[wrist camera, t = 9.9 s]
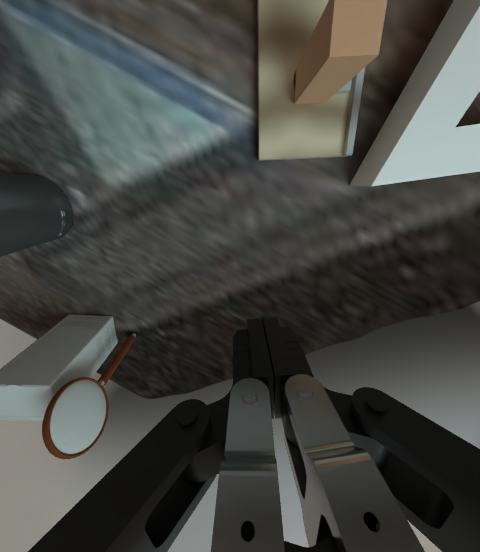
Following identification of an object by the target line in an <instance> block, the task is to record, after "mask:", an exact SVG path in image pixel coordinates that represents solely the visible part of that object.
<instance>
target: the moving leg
mask: <svg viewBox="0 0 480 552" xmlns="http://www.w3.org/2000/svg"><path fill="white" fill-rule="evenodd" d="M386 6H387V0H329V1H328V3H327V5H326V7H325V9H324V11H323V13H322V15H321V17H320V19H319V21H318V23H317V25H316V27H315V29H314V31H313V33H312V35H311V37H310V39H309V41H308V43H307V45H306V47H305V49H304V51H303V53H302V55H301V57H300V59H299V61H298V63H297V66H296V86H295V104H313V103H325V102H327V101H328V100H329V99H330V98H331V97H332V96H333V95H334V94H343V93H348V92H349V91H350V90H351V83H352V78H353V77H354V76H355V75H357V74H358V73H359V72H360V71H361V70H362V69H363V68H364V67H365V66H367V65H368V64H369V63H370V62H371V61H372V60H373V59H374V58H376V57H377V56H378V55H379V49H380V43H381V37H382V31H383V24H384V18H385V12H386Z"/></svg>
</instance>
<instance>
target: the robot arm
mask: <svg viewBox="0 0 480 552" xmlns="http://www.w3.org/2000/svg"><path fill="white" fill-rule="evenodd" d="M72 224H73V211H72V208H71V205H70V202H69V201H68V199H67V197H66V196H65V194H64V193H63V192H62V190H61V189H59V188H58V187H57V186H56V185H55V184H54V183H52V182H51V181H49V180H48V179H45V178H43V177H41V176H37V175H31V174H12V173H2V172H0V257H1V256H5V255H8V254H11V253H14V252H17V251H20V250H23V249H26V248H30V247H33V246H36V245H39V244H42V243H45V242H48V241H51V240H55V239H58V238H60V237H63V236H64V235H66V234H67V233H68V232H69V230H70V229H71V227H72ZM247 327H248V329H246V330H237V332H236V333H235V335H234V337H233V386H232V388H231V390H230V392H229V393H228V394H227V395H226V396H225V397H224V398H222V399H221V400H219V401H216V402H214V403H211V404H210V405H206V404H205V403H204V402H202V401H200V400H196V399H190V400H186V401H183V402H181V403H180V404H178V405H177V406H176V407H174V408H173V409H172V410H171V411H170V413H168V414H167V415H166V417H164V418H163V419H162V420H161V421H160V422H159V423H158V424H157V425H156V426H155V427H154V428H153V429H152V430H151V431H150V432H149V433H148V434H147V435H146V436H145V437H144V438H143V439H142V440H141V441H140V442H139V443H138V444H137V445H136V446H135V447H134V448H133V449H132V450H131V451H130V452H129V453H128V454H127V455H126V456H125V457H124V458H123V459H122V460H121V461H120V462H119V463H118V464H117V465H116V466H115V467H114V468H113V469H112V470H110V471H109V472H108V473H107V474H106V475H105V476H104V477H103V478H102V479H101V481H99V482H98V483H97V484H96V485H95V486H94V487H93V488H92V489H91V490H90V491H89V492H88V493H87V494H86V495H85V496H84V497H83V498H82V499H81V500H80V501H79V502H78V503H77V504H76V505H75V506H74V507H73V508H72V509H71V510H70V511H69V512H68V513H67V514H66V515H65V516H64V517H63V518H62V519H61V520H60V521H59V522H58V523H57V524H56V525H55V526H54V527H53V528H52V529H51V530H50V531H49V532H48V533H46V535H44V536H43V538H41V540H40V541H38V542H37V543H36V544H35V545H34V546H33V547H32V548H31V549H30V550H29V551H28V552H167V551H168V549H169V548H170V546H171V545H172V543H173V542H174V540H175V539H176V537H177V536H178V534H179V533H180V531H181V530H182V528H183V526H184V525H185V523H186V522H187V520H188V519H189V517H190V516H191V514H192V513H193V511H194V510H195V508H196V507H197V505H198V504H199V502H200V500H201V499H202V497H203V496H204V495H205V493H206V491H207V490H208V488H209V487H210V485H211V484H212V482H213V481H214V479H215V477H216V475H217V474H219V480H218V490H217V499H216V508H215V518H214V527H213V536H212V546H211V552H425V551H424V549H423V547H422V546H421V544H420V542H419V540H418V539H417V537H416V535H415V533H414V531H413V530H412V528H411V526H410V524H409V523H408V521H409V522H410V523H411V524H412V525H414V526H415V527H416V528H417V529H418V530H419V531H420V532H421V533H422V534H424V535H425V536H426V537H427V538H428V539H429V540H430V541H431V542H432V543H433V544H435V545H436V546H437V547H438V548H439V549H440V550H441V551H442V552H480V449H479V448H477V447H475V446H473V445H472V444H470V443H468V442H467V441H465V440H463V439H462V438H460V437H458V436H456V435H455V434H453V433H451V432H450V431H448V430H446V429H444V428H443V427H441V426H439V425H438V424H436V423H435V422H433V421H431V420H429V419H428V418H426V417H424V416H423V415H421V414H419V413H418V412H416V411H414V410H412V409H411V408H409V407H407V406H406V405H404V404H402V403H401V402H398V401H397V400H396V399H394V398H392V397H390V396H389V395H387V394H385V393H383V392H382V391H380V390H377V389H374V388H367V387H364V388H360V389H357V390H356V391H355V392H354V393H353V396H351V395H346V394H342V393H337V392H334V391H331V390H328V389H326V388H325V387H323V385H322V384H321V383H320V382H319V381H318V380H317V379H315V378H314V376H313V375H312V372H311V369H310V367H309V364H308V362H307V360H306V357H305V355H304V352H303V350H302V347H301V345H300V342H299V340H298V338H297V335H296V333H295V332H294V331H293V330H292V329H291V328H290V327H289V326H287V327H280V325H279V321H278V318H277V317H269V318H262V319H261V318H256V319H247ZM273 414H275V418H282V422H283V427H284V442H285V445H286V449H287V453H288V457H289V460H290V464H291V468H292V472H293V475H294V479H295V483H296V487H297V490H298V494H299V498H300V502H301V507H302V513H303V521H304V526H305V532H306V536H307V540H308V544H309V547H308V548H306V547H302V546H299V545H295V544H292V543H289V542H286V541H284V537H283V526H282V515H281V505H280V494H279V482H278V472H277V463H276V459H275V451H274V440H273V428H272V419H273V418H274V415H273ZM407 520H408V521H407Z"/></svg>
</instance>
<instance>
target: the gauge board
mask: <svg viewBox="0 0 480 552" xmlns="http://www.w3.org/2000/svg"><path fill="white" fill-rule="evenodd" d="M328 1H329V0H258V160H281V159H304V158H327V157H347V156H351V155H352V154H353V147H354V140H355V134H356V127H357V120H358V113H359V106H360V99H361V92H362V85H363V78H364V71H365V67H364V68H363V69H362V70H361V71H360V72H359V73H358V74H357V75H355V76H354V77H353V78H352V83H351V90H350V91H349V92H348V93H343V94H334V95H333V96H332V97H331V98H330V99H329V100H328V101H327V102H325V103H313V104H295V86H296V66H297V63H298V61H299V59H300V57H301V55H302V53H303V51H304V49H305V47H306V45H307V43H308V41H309V39H310V37H311V35H312V33H313V31H314V29H315V27H316V25H317V23H318V21H319V19H320V17H321V15H322V13H323V11H324V9H325V7H326V5H327V3H328Z"/></svg>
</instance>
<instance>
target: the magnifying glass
mask: <svg viewBox="0 0 480 552" xmlns="http://www.w3.org/2000/svg"><path fill="white" fill-rule="evenodd" d="M135 336H136V334H132V335H130V336H129V337H128V339H127V340H126V341H125V343H124V344H123V346H122V347H121V348H120V350H119V351H118V353H117V354H116V356H115V357H114V358H113V360H112V361H111V363H110V364H109V366H108V367H107V368H106V370H105V371H104V373H103V374H102V376H101V377H100V378H99V380H98V381H97V380H95V379H92V378H88V377H82V378H77V379H74V380H72V381H70V382H68V383H66V384H65V385H64V386H62V387H61V388H60V389H59V390H58V391H57V392H56V394H55V395H54V396H53V398H52V399H51V401H50V402H49V404H48V406H47V409H46V411H45V415H44V418H43V424H42V435H43V440H44V443H45V446H46V448H47V449H48V451H49V452H50V453H51V454H53V455H54V456H55V457H58V458H61V459H71V458H75V457H78V456H80V455H82V454H84V453H85V452H86V451H88V450H89V449H90V448H91V447H92V446H93V445H94V444H95V443H96V441H97V440H98V439H99V437H100V435H101V434H102V432H103V430H104V427H105V424H106V421H107V417H108V398H107V394H106V391H105V389H104V387H103V385H105V384H106V383H107V381H108V380H109V378H110V377H111V375H112V374H113V372H114V371H115V369H116V368H117V366H118V365H119V363H120V362H121V360H122V358H123V357H124V355H125V354H126V352H127V351H128V349H129V348H130V346H131V345H132V343H133V342H134V340H135Z"/></svg>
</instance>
